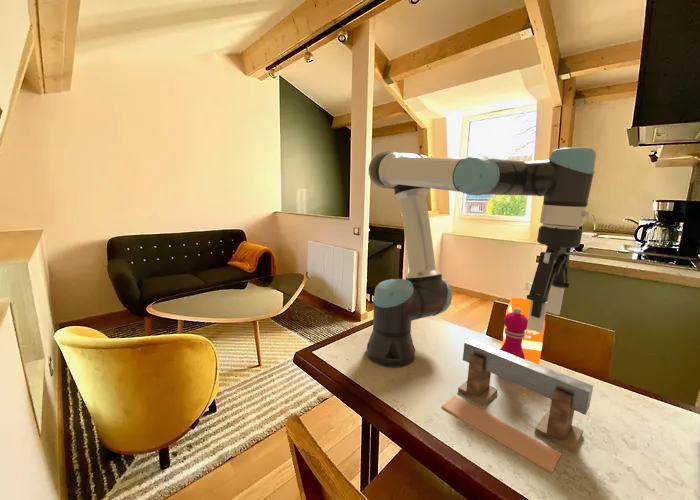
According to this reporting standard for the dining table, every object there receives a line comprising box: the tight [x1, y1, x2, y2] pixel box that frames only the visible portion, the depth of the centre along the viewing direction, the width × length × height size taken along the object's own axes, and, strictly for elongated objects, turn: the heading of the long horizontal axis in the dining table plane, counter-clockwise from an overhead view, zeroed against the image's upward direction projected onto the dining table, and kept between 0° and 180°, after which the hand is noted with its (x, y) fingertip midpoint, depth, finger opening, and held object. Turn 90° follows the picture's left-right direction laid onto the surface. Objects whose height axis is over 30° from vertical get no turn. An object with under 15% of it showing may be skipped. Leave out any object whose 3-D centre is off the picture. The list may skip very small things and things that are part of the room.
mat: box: [441, 395, 562, 474], centre depth 67 cm, size 23×6×1 cm, turn 42°
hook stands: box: [457, 354, 584, 454], centre depth 72 cm, size 25×7×11 cm, turn 42°
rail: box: [462, 338, 594, 415], centre depth 71 cm, size 26×3×5 cm, turn 42°
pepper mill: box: [499, 308, 528, 359], centre depth 86 cm, size 7×7×20 cm
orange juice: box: [501, 297, 546, 365], centre depth 93 cm, size 8×9×20 cm
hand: (544, 321), depth 68 cm, fingers open, 13 cm apart
